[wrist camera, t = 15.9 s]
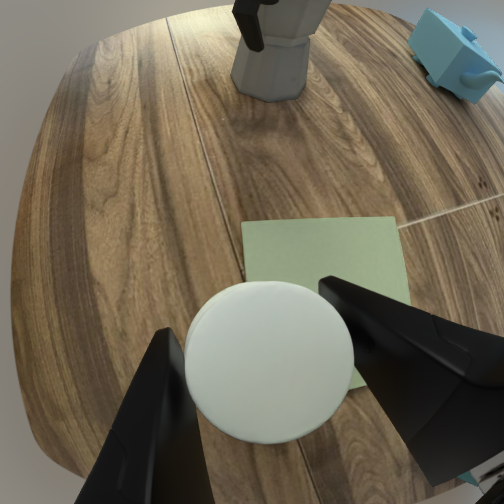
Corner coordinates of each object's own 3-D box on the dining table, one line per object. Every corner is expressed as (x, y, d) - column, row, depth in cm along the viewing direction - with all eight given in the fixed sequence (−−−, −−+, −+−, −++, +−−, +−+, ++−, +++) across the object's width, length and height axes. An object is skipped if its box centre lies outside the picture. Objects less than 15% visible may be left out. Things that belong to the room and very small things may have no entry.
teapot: (398, 41, 35) (423, -6, 21) (437, 59, 35) (464, 20, 22) (444, 116, 29) (492, 61, 16) (483, 134, 30) (527, 93, 17)
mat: (412, 368, 19) (415, 368, 19) (257, 404, 18) (258, 406, 17) (391, 218, 23) (394, 216, 22) (240, 224, 21) (241, 221, 21)
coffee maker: (256, 46, 28) (273, -67, 11) (319, 68, 28) (359, -46, 10) (194, 109, 24) (182, -57, 7) (275, 139, 24) (324, -43, 6)
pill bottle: (262, 402, 13) (303, 481, 5) (185, 357, 13) (130, 394, 5) (308, 327, 14) (398, 324, 6) (232, 282, 14) (239, 225, 6)
